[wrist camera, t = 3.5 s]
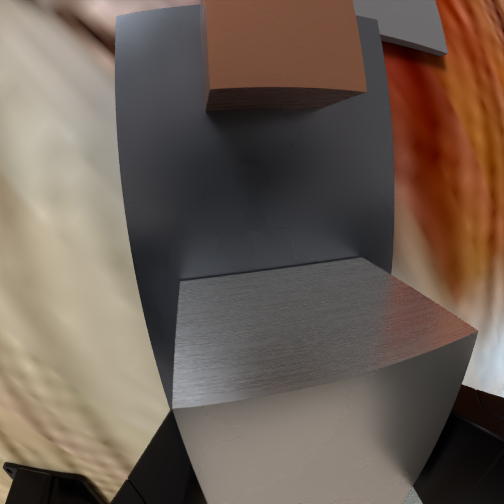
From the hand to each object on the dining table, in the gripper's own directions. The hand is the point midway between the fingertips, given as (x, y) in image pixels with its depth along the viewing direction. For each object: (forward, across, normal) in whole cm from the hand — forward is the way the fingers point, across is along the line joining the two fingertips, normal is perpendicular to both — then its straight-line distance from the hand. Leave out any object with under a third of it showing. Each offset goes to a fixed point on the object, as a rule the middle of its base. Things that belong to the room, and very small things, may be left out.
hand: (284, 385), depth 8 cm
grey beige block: (0, 0, 0) cm, 0 cm away
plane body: (+4, 0, 0) cm, 4 cm away
